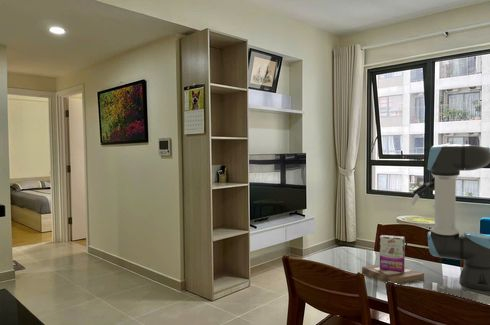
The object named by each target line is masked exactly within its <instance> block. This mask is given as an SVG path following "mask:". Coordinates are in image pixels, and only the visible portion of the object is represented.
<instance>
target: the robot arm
mask: <svg viewBox="0 0 490 325" xmlns="http://www.w3.org/2000/svg"><path fill="white" fill-rule="evenodd" d="M489 164H490V147H489V146H480V145H476V144H456V143H454V142H447V143H445V144H435V145H432V146H431V147H430V149H429V153H428V161H427V170H428V171H430V175H432V177H431V181H430V182H428V181H425V182H424V183H422V184H421V185H420V186H419V187H417V188H416V189H415V190H413V191H412V193H413V194H414V196H412V199H411V200H410V202H409V203H410V204H411V206H413V207H414V206H415V204H416V203H417V202H418V200H419V199H420V197H421V196H422V195H424V194H426V193H428V192H431V191H432V192H434V201H433V202H432V203H431V205H430V206H431V208H432V209H433V210H434V226H432V227H431V229H430V231H428V232H427V245H428V246H427V247H428V250H429V254H430V255H431V256H433V257H436V258H441V259H451V260H458V261H463V267H462V270H461V272H460V274H459V278H458V279H459V283H460V284H461V285H463V286H465V287H467V288H470V289H473V290H478V291H488V292H489V291H490V235H486V234H483V233H481V232H480V233H478V232H473V231H465V232H464V233H463V234H460V230H459V229H458V228H457V227H456V205H457V204H456V203H457V202H456V200H457V196H456V194H457V193H456V192H457V189H456V188H457V186H456V184H457V183H456V181H457V180H456V179H457V177H458V176H460V172H461V171H462V172H463V171H466V172H467V171H468V172H469V171H470V172H471V171H476V170H479V169H482V168H485V167H486V166H488V165H489Z"/></svg>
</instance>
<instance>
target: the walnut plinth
mask: <svg viewBox="0 0 490 325" xmlns="http://www.w3.org/2000/svg"><path fill="white" fill-rule="evenodd" d="M361 273H362V274H364V275H366V276H369V277H371V278H373V279H375V280H378V281H380V282H383V283H385V284H387V283H386V282H388V281H391V282H394V283H397V284H399V285H403V284H408V283H414V282H415V283H416V282H419V281H424V280H425V273H423V272H421V271H418V270H415V269H412V268H410V267H407V266H405V270H404V272H397V271H390V270H382V269H380V263H379V264H378V263H377V264H372V265H371V264H370V265H365V266H362V267H361Z"/></svg>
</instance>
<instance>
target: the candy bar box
mask: <svg viewBox="0 0 490 325" xmlns="http://www.w3.org/2000/svg"><path fill="white" fill-rule="evenodd" d="M405 242H406V238H405V236H401V235H400V236H399V235H397V236H396V235H387V234H381V235H380V236H379V264H380V269H382V270H390V271H397V272H404V270H405V267H406V266H405V265H406V264H405V263H406V257H405V255H406V254H405V253H406V250H405V247H406V246H405V245H406V244H405Z"/></svg>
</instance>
